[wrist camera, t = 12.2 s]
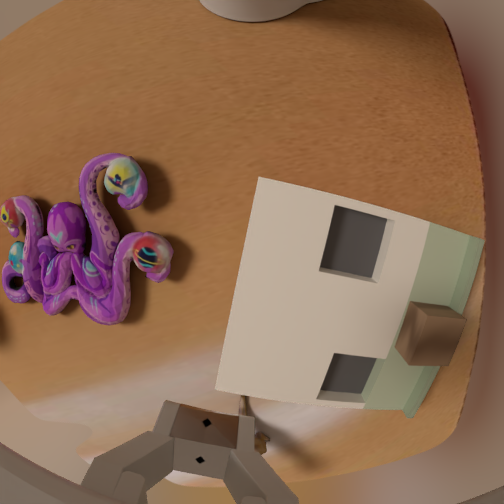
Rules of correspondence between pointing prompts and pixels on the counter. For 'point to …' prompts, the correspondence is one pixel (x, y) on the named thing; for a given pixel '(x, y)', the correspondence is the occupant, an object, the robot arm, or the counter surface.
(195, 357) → the counter surface
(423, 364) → the walnut block
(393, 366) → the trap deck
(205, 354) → the counter surface
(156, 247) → the decorative sculpture
